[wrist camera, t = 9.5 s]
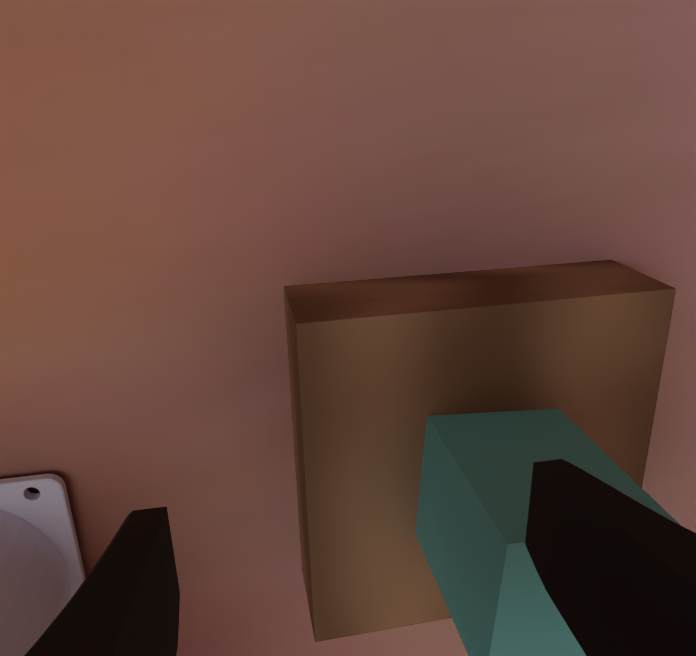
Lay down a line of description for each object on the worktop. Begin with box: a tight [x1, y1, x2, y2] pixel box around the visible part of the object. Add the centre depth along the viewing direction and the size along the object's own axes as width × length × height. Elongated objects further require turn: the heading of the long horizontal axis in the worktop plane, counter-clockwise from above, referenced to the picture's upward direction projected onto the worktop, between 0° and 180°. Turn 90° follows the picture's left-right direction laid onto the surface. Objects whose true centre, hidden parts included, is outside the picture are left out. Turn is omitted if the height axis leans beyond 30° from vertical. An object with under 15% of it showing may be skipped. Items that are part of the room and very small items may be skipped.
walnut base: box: [284, 260, 676, 642], centre depth 23 cm, size 12×12×4 cm
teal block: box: [415, 409, 680, 656], centre depth 18 cm, size 4×4×6 cm
